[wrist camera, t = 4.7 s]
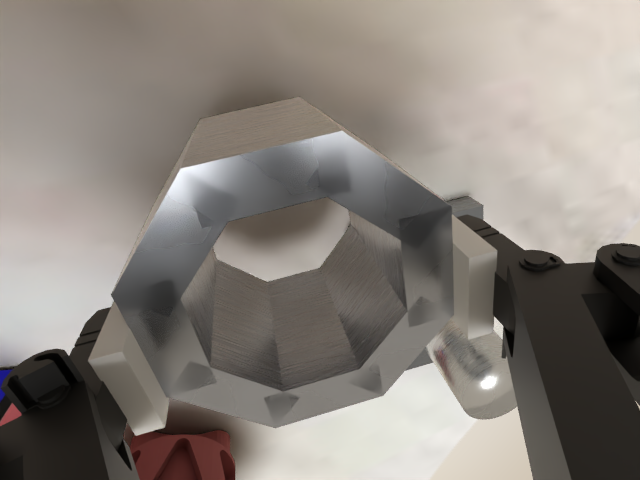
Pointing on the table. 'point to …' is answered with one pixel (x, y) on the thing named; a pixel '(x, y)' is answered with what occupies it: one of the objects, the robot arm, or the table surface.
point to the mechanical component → (183, 456)
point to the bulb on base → (471, 356)
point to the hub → (293, 291)
